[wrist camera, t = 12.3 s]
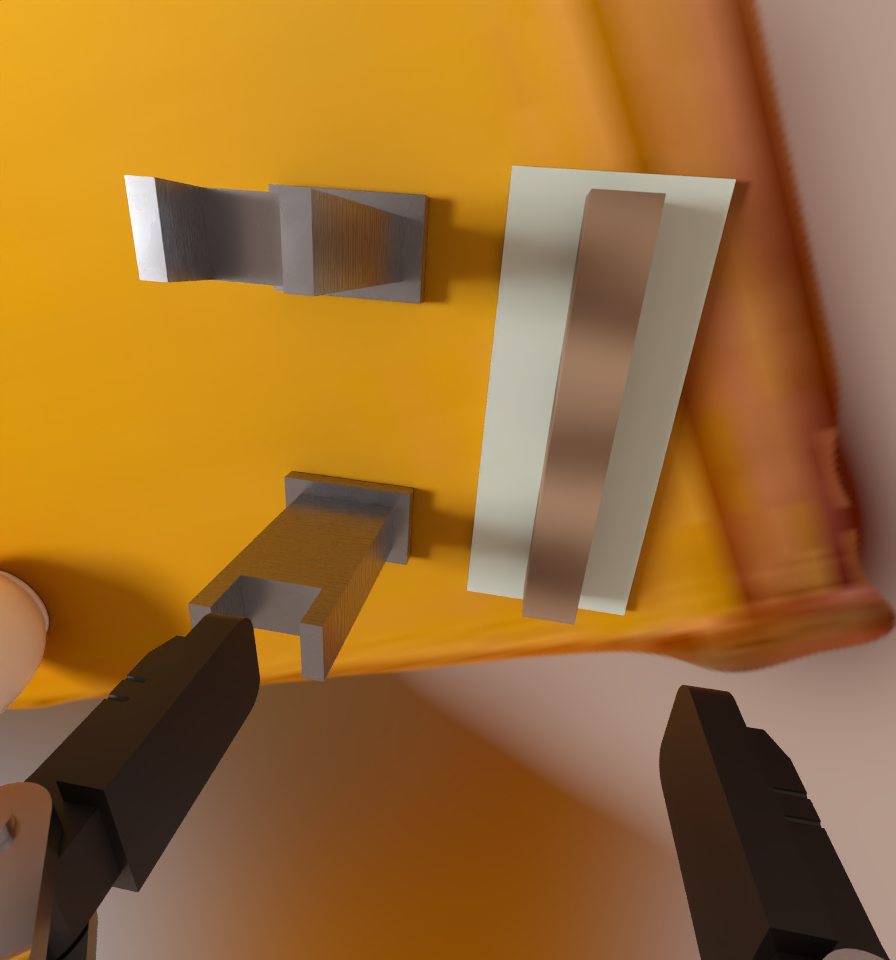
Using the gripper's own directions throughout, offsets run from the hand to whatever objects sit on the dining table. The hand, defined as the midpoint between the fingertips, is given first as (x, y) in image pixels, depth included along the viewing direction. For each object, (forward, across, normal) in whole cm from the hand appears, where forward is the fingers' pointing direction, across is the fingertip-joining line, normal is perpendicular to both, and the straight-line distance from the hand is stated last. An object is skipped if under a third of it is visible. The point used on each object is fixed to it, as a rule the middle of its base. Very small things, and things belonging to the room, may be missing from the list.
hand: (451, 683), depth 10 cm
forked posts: (+22, +9, +1) cm, 23 cm away
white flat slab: (+22, -4, +1) cm, 22 cm away
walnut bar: (+21, -4, +1) cm, 21 cm away
